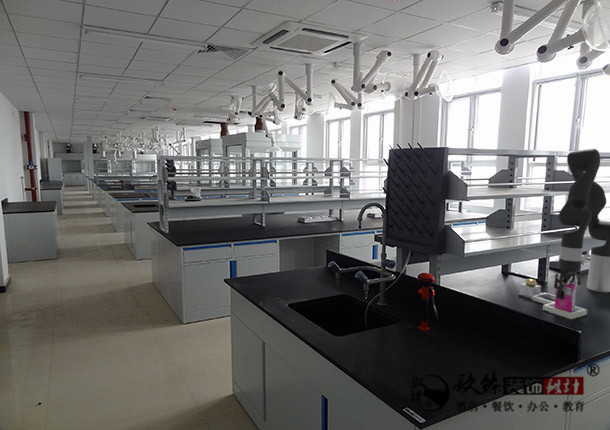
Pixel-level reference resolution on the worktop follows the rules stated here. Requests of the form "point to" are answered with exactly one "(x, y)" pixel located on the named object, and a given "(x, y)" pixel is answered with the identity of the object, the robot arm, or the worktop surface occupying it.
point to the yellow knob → (531, 282)
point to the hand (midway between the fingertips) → (566, 297)
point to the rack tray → (572, 315)
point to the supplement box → (567, 299)
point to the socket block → (535, 293)
